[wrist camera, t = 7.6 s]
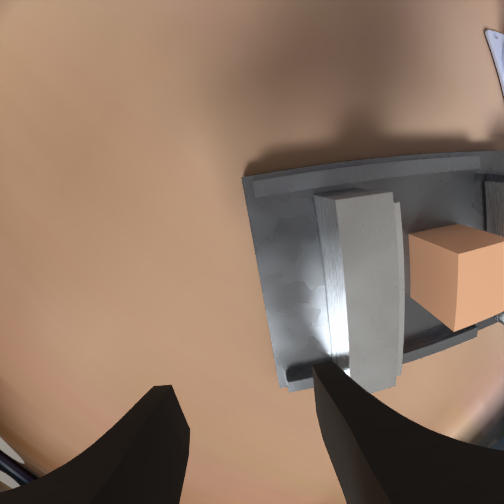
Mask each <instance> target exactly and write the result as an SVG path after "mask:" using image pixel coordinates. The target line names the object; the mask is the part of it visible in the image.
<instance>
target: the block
mask: <svg viewBox="0 0 504 504" xmlns="http://www.w3.org/2000/svg"><path fill="white" fill-rule="evenodd" d="M408 235H409V253H410V297H411V298H412V299H414V300H415V301H416V302H417V303H419V304H420V305H421V306H422V307H424V308H425V309H426V310H427V311H429V312H430V313H431V314H432V315H434V316H435V317H436V318H437V319H439V320H440V321H441V322H442V323H444V324H445V325H446V326H447V327H448V328H450V329H451V330H452V331H453V332H455V331H458V330H460V329H463V328H466V327H468V326H471V325H473V324H476V323H478V322H480V321H483V320H485V319H487V318H490V317H492V316H494V315H497V314H499V313H501V312H503V311H504V237H502V236H499V235H495V234H492V233H489V232H486V231H482V230H479V229H475V228H472V227H468V226H465V225H461V224H455V225H450V226H445V227H440V228H435V229H430V230H425V231H420V232H415V233H410V234H408Z"/></svg>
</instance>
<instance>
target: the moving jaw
mask: <svg viewBox="0 0 504 504" xmlns="http://www.w3.org/2000/svg"><path fill="white" fill-rule="evenodd" d="M314 200H315V207H316V214H317V221H318V228H319V235H320V243H321V250H322V258H323V266H324V275H325V284H326V293H327V303H328V313H329V324H330V336H331V349H332V360H333V362H335V363H336V364H337V365H338V366H339V367H340V368H341V369H342V370H343V371H344V372H345V373H346V374H347V375H348V376H350V377H351V378H352V379H353V380H354V381H355V382H356V383H358V384H359V385H360V386H361V387H363V388H364V389H365V390H366V391H368V392H369V393H373V392H377V391H380V390H384V389H387V388H390V387H393V386H396V376H398V375H401V372H402V359H403V343H404V314H405V281H404V252H403V235H402V222H401V210H400V202H396V201H393V192H389V191H381V190H373V189H364V188H356V189H349V190H343V191H336V192H329V193H323V194H316V195H314Z"/></svg>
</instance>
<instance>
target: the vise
mask: <svg viewBox="0 0 504 504" xmlns="http://www.w3.org/2000/svg"><path fill="white" fill-rule="evenodd" d="M242 183H243V188H244V194H245V199H246V205H247V210H248V215H249V221H250V226H251V232H252V237H253V243H254V248H255V254H256V259H257V265H258V270H259V276H260V281H261V287H262V292H263V298H264V303H265V309H266V314H267V320H268V325H269V331H270V336H271V342H272V347H273V353H274V359H275V364H276V370H277V375H278V381H279V386H280V388H282V387H288V391H289V392H294V391H299V390H304V389H309V388H314V382H313V372H312V365H313V364H318V363H322V362H327V361H331V360H332V349H331V336H330V324H329V313H328V303H327V293H326V284H325V275H324V266H323V258H322V250H321V243H320V235H319V228H318V221H317V214H316V207H315V200H314V195H316V194H323V193H329V192H336V191H343V190H349V189H356V188H364V189H373V190H381V191H389V192H393V201H396V202H400V210H401V222H402V235H403V252H404V281H405V314H404V343H403V359H402V364H404V363H408V362H411V361H414V360H417V359H420V358H422V357H425V356H428V355H431V354H434V353H437V352H439V351H442V350H445V349H447V348H450V347H452V346H455V345H458V344H460V343H463V342H465V341H467V340H470V339H472V338H475V337H477V331H478V330H480V329H483V328H485V327H487V326H490V325H492V324H494V323H496V322H500V323H502V324H503V325H504V311H503V312H501V313H499V314H497V315H494V316H492V317H490V318H487V319H485V320H483V321H480V322H478V323H476V324H473V325H471V326H468V327H466V328H463V329H460V330H458V331H455V332H453V331H452V330H451V329H450V328H448V327H447V326H446V325H445V324H444V323H442V322H441V321H440V320H439V319H437V318H436V317H435V316H434V315H432V314H431V313H430V312H429V311H427V310H426V309H425V308H424V307H422V306H421V305H420V304H419V303H417V302H416V301H415V300H414V299H412V298H411V297H410V253H409V235H408V234H410V233H415V232H420V231H425V230H430V229H435V228H440V227H445V226H450V225H455V224H461V225H465V226H468V227H472V228H475V229H479V230H482V231H486V232H489V233H492V234H495V235H499V236H502V237H504V151H469V152H447V153H431V154H417V155H404V156H393V157H382V158H372V159H363V160H354V161H346V162H338V163H330V164H323V165H315V166H308V167H301V168H295V169H288V170H282V171H276V172H270V173H264V174H258V175H252V176H247V177H242ZM332 361H333V360H332Z"/></svg>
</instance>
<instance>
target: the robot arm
mask: <svg viewBox="0 0 504 504" xmlns="http://www.w3.org/2000/svg"><path fill="white" fill-rule="evenodd" d="M485 35H486V38H487V41H488V43H489V46H490V49H491V52H492V55H493V58H494V62H495V65H496V68H497V72H498V75H499V79H500V83H501V86H502V90H503V94H504V34H501V33H498V32H495V31H492V30H486V31H485ZM312 372H313V382H314V392H315V402H316V413H317V417H318V421H319V425H320V429H321V433H322V437H323V440H324V443H325V446H326V448H327V451H328V454H329V456H330V459H331V462H332V464H333V467H334V469H335V472H336V475H337V477H338V480H339V482H340V485H341V488H342V490H343V493H344V496H345V499H346V502H347V504H504V451H503V450H496V449H490V448H486V447H481V446H477V445H473V444H469V443H466V442H462V441H459V440H456V439H453V438H450V437H448V436H445V435H442V434H439V433H437V432H434V431H432V430H430V429H427V428H425V427H423V426H421V425H419V424H417V423H415V422H413V421H411V420H409V419H408V418H406V417H404V416H403V415H401V414H399V413H398V412H396V411H394V410H393V409H391V408H390V407H388V406H387V405H385V404H384V403H382V402H381V401H380V400H378V399H377V398H375V397H374V396H373V395H372V394H370V393H369V392H368V391H366V390H365V389H364V388H363V387H361V386H360V385H359V384H358V383H356V382H355V381H354V380H353V379H352V378H351V377H350V376H348V375H347V374H346V373H345V372H344V371H343V370H342V369H341V368H340V367H339V366H338V365H337V364H336V363H335V362H333V361H332V360H331V361H327V362H322V363H318V364H313V365H312ZM189 443H190V428H189V426H188V424H187V421H186V419H185V417H184V414H183V412H182V409H181V407H180V405H179V402H178V400H177V397H176V395H175V392H174V390H173V387H172V385H163V386H154V387H153V388H151V389H150V390H149V391H148V392H147V393H146V394H145V395H144V396H143V397H142V398H141V399H140V400H139V401H138V402H137V403H136V404H135V405H134V406H133V407H132V408H131V409H130V410H129V411H128V412H127V413H126V414H125V415H124V416H123V417H122V418H121V419H120V420H119V421H118V422H117V423H116V424H115V425H114V426H113V427H112V428H111V429H110V430H108V431H107V432H106V433H105V434H104V435H103V436H102V437H101V438H99V439H98V440H97V441H96V442H95V443H94V444H92V445H91V446H90V447H89V448H87V449H86V450H85V451H83V452H82V453H81V454H79V455H78V456H76V457H75V458H74V459H72V460H71V461H69V462H68V463H66V464H64V465H63V466H61V467H59V468H57V469H56V470H54V471H52V472H50V473H48V474H46V475H45V476H43V477H41V478H39V479H36V480H34V481H32V482H30V483H27V484H25V485H22V486H19V487H17V488H14V489H11V490H8V491H4V492H0V504H179V502H180V497H181V492H182V487H183V482H184V477H185V472H186V467H187V462H188V456H189Z"/></svg>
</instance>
